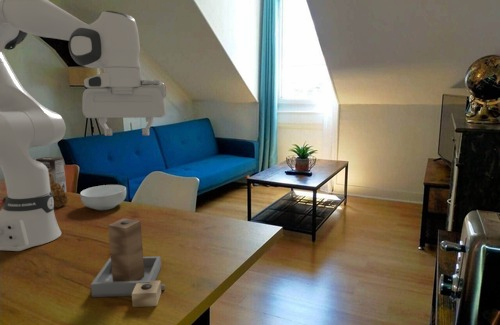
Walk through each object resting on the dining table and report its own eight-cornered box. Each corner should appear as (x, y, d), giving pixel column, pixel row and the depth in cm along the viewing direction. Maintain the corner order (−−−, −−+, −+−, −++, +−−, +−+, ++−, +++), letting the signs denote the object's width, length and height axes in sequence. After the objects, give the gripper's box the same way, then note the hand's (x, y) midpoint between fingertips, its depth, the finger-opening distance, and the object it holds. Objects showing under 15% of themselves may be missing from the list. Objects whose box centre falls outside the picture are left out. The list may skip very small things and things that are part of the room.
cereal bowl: (94, 200, 148) (92, 184, 146) (133, 200, 147) (132, 184, 146) (73, 214, 131) (71, 195, 130) (117, 214, 130) (115, 196, 129)
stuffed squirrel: (45, 201, 146) (41, 170, 144) (76, 203, 144) (73, 172, 141) (26, 209, 136) (22, 176, 134) (59, 211, 134) (55, 177, 132)
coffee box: (39, 194, 156) (34, 159, 153) (49, 190, 163) (45, 156, 159) (57, 195, 155) (53, 159, 152) (67, 191, 161) (63, 157, 158)
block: (112, 282, 82) (108, 224, 79) (127, 272, 87) (123, 217, 84) (130, 286, 80) (125, 227, 77) (144, 276, 85) (140, 220, 82)
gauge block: (130, 306, 73) (129, 293, 73) (138, 289, 80) (137, 276, 80) (159, 305, 74) (158, 292, 73) (165, 288, 81) (164, 275, 80)
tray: (92, 297, 77) (90, 284, 76) (110, 269, 89) (109, 257, 89) (150, 295, 78) (149, 282, 77) (161, 267, 90) (160, 256, 90)
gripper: (167, 80, 92) (170, 133, 95) (87, 81, 91) (92, 134, 93) (163, 79, 86) (166, 136, 88) (76, 80, 85) (82, 137, 87)
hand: (127, 135), depth 91 cm, fingers open, 8 cm apart
